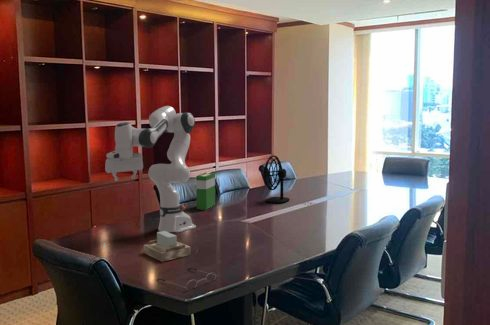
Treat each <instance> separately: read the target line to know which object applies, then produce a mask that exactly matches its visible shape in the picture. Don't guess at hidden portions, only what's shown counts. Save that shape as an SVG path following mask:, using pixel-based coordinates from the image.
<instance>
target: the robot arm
mask: <svg viewBox="0 0 490 325" xmlns="http://www.w3.org/2000/svg"><path fill="white" fill-rule="evenodd" d="M148 117H149V118H148V124H149V126H150V128H136V127H134V126H133V125H131V123H130V122H128V121H127V122H125V121H124V122H120V123H117V124H116V125H115V128H114V142H115V146H114V147H115V148H114V150H113V151H110V152H108V153H106V155H105V156H106V160H105V164H104V166H105V168H104V169H105V170H104V171H105V172H106V173H107V174H111V175H112V176H113V178H114V181H115V182H119V180H120V179H119V176H117V173H122V172H132V173H133V174H132V175H130V178H131V180H136V175H137V173H138V171H142V170H143V169H144V161H143V154H142V153H141V152H133V148H134V147H142V148H153V147H154V146H155V145H156V143H157V141H158V139H159V138H160V137H161V136H162V135H163V134H164V133H168V134H174V135H173V138H172V140H171V142H170V144H169V148H168V149H167V152H166V155H167V159H168V160H169V161H170V162H171V163H156V164H152V165H150V167H149V169H148V177H149V179H150V180H151V181H152V182H153V183H154V184H155V185H156V187H157V190H158V193H159V198H160V199H159V200H160V201H159V202H160V204H159V216H160V218H159V224H158V228H157V230H158V232H161V231H166V232H169V233H182V232H185V231H189V230H192V229H196V228H197V225H196V224H194V223H193V221H192V218H191V216H190V215H188V214H187V213H186V212H184V211H183V210H185V209H186V206H185V205H181V204H180V193H179V191H178V190H177V189H175V187H173V185H172V184H183V183H184V184H185V183H187V182H188V181H189V180H190V178H191V171H190V168H189V166H187V164H186V157H187V154H188V150H189V148H190V143H191V135H190V133H191V132H192V131H193V129H194V127H195V123H196V119H195V116H194V115H193V114H192V113H191V112H180V113H178V112H177V113H176V110H175V108H174V107H172V106H170V105H165V106H162V107H160V108H157V109H156V110H154V111H153V112H152V113H151V114H150V115H149V116H148Z"/></svg>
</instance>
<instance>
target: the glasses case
mask: <svg viewBox="0 0 490 325" xmlns="http://www.w3.org/2000/svg"><path fill="white" fill-rule="evenodd" d="M156 240H157V244H158V245H160V246H162V247H164V248H170V247H174V246H177V242H178V236H177V235H175V234H173V233H172V232H166V231H157V232H156Z"/></svg>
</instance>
